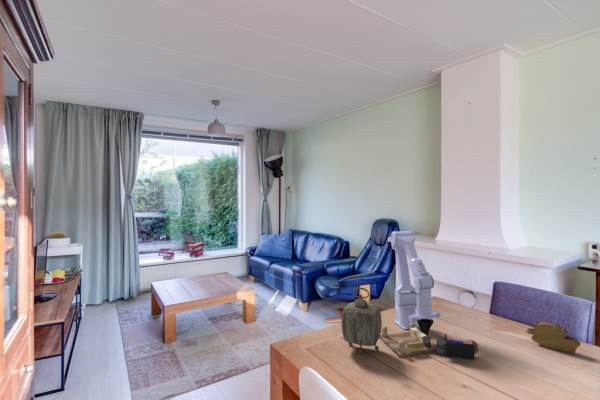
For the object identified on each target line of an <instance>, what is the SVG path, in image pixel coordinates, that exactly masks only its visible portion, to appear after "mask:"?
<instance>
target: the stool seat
mask: <svg viewBox="0 0 600 400" xmlns="http://www.w3.org/2000/svg"><path fill="white" fill-rule="evenodd" d="M410 328H415V323H410ZM379 339H380V341H381V342H382V343H384V345H386V346H387V348H389V349H390V350H391V351H392V353H394V354H395V355H396V356H397V357H398V358H406V357H413V356H418V355H425V354H434V353H437V352H436V351H435V346H436V345H435V344H434V343H432V342H431V346H430V347H425V346H423V342H422V341H417V340H416V339H415V338H414V337H412V336H411V335H410V330H409V331H401V332H395V333H394V332H393V333H388V326H387V325H382V327H381V334H380V337H379Z"/></svg>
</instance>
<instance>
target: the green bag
mask: <svg viewBox="0 0 600 400" xmlns="http://www.w3.org/2000/svg"><path fill="white" fill-rule="evenodd" d="M355 290H362V291H365V292H366V293H367V295H366V296H363V295H362V294H358V295H359V296H358V295H356V294H354V291H355ZM351 294H352V296H353V297H355V298H356V299H355V300H354V301H352V302H349V303H348V304H347V305H346V306H345V307H344V308H343V310H342V312H341V313H342V314H341V323H340V324H341V333H342V337H343V339H344V341H345V342H348V345H349V346H352V345H353V344H354V345H358V346H359V349H358V354H363V352H364V351H363V349H362V346H364V347H373V346H374V350H376V351H378V350H379V345H377V342H378V341H379V339H380V338H379V337H380V335H382V326H383V325H382V324H383V323H382V313H381V310H380V307H379V306H378V305H376V304H374V303H370V302H369V303H368V302H367V300H366V299H367V298H369V296H370V292H369V291H368V289H366V288H364V287H355V288H353V289H352V291H351Z"/></svg>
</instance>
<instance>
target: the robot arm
mask: <svg viewBox="0 0 600 400" xmlns="http://www.w3.org/2000/svg"><path fill="white" fill-rule="evenodd" d="M389 238H390V243H391V244H390V245H391V249H392V250H394V252H395V253H394V254H395V261H396V266H397V273H398V282H399V286H397V288H395V290H394V301H395V305H396V307H395V320H393V322H394V323H395V324H397V325H398V326H399V327H400V328H401V329H403V330H410V323H415V328H417V329H419V330H420V331H421V332H422V333H424V334H425V335H427V336H429V333H430V330H431V328H432V326H433V324H434V319H435V318H441V312H439V311H438V310H436V311H432V309H433V308H432V307H433V306H432V304H433V303H432V289H433V288H434V286H435V281H434V280H435V279H434V278H433V276H432V274H430V273H429V271H427V269H426V266H425V264H424V262H423V260H422V259H420V258H419V256H418V253H417V249H416V246H415V243H416V241H415V240H416V236H415V233H414V231H412V230H405V231H394V230H393V231H392V232H391V234H390V237H389ZM408 259H409V261H410V262H409V263H408ZM409 268H410V269H409ZM410 270H411V273H412V275H413V277H414V279H413V285H414V286H413V285H412V283H411V277H410ZM433 318H434V319H433ZM416 323H417V324H416Z"/></svg>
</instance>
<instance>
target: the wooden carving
mask: <svg viewBox="0 0 600 400" xmlns="http://www.w3.org/2000/svg"><path fill="white" fill-rule="evenodd" d="M532 327H533V328H531V327H530V328H527V330H525V332H526V333H527V334H530V335H531V337H530V338H531V340H533V342H535V343H537V344H538V345H540V346H542V347H544V348H547V349H549V350H554V351H563V350H564V351H566V352H569V353H571V354H572V353H573V354H575V353H576V351H577V350H578V347H580V346H581V341H579V340H578V339H577V338H576V337H575V338H574V337H571V336H567V335H568V330H567V329H566V327H561V326H560V325H558V324H555V323H552V322H549V321H548V322H547V321H541V322H539V321H535V322H534V324H533V326H532Z"/></svg>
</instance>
